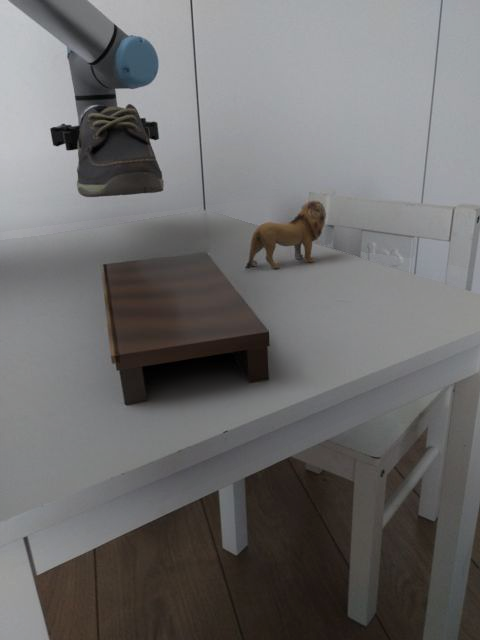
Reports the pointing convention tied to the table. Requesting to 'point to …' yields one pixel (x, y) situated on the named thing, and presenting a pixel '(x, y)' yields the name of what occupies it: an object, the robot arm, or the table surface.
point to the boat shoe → (116, 155)
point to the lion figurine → (289, 234)
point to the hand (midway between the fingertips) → (108, 137)
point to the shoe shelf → (177, 318)
